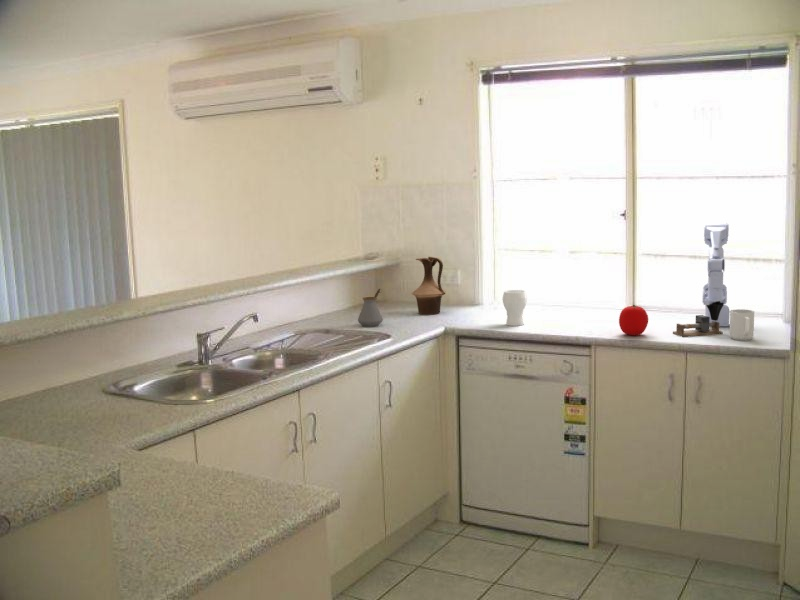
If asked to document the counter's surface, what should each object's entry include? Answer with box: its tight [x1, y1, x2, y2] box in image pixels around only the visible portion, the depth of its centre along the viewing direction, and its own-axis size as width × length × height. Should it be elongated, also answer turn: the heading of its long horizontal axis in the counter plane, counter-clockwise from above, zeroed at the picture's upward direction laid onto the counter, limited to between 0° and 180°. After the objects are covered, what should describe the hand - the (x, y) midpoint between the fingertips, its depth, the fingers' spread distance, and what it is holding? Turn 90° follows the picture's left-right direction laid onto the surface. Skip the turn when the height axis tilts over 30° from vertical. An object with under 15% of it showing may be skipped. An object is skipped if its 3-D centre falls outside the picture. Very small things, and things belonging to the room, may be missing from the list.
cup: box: [502, 289, 528, 327], centre depth 382 cm, size 11×11×15 cm
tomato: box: [618, 304, 649, 336], centre depth 352 cm, size 12×12×13 cm
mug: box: [729, 308, 755, 341], centre depth 337 cm, size 12×9×11 cm
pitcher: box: [411, 256, 447, 316], centre depth 417 cm, size 18×17×28 cm
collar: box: [694, 314, 710, 332], centre depth 351 cm, size 3×5×6 cm, turn 12°
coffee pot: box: [357, 288, 384, 328], centre depth 394 cm, size 21×12×15 cm, turn 163°
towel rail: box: [672, 321, 724, 338], centre depth 351 cm, size 18×8×4 cm, turn 102°
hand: (714, 320), depth 352 cm, fingers closed
